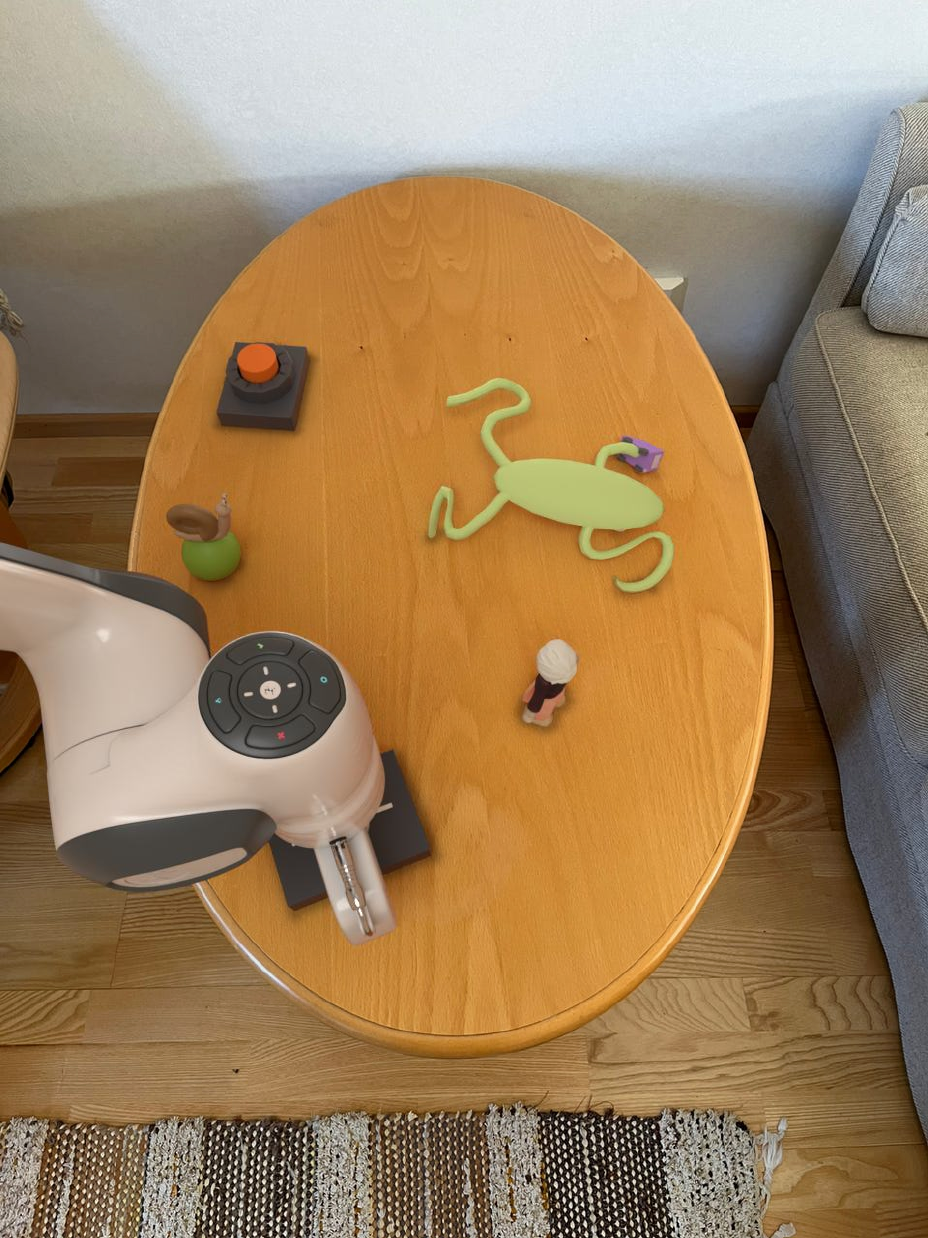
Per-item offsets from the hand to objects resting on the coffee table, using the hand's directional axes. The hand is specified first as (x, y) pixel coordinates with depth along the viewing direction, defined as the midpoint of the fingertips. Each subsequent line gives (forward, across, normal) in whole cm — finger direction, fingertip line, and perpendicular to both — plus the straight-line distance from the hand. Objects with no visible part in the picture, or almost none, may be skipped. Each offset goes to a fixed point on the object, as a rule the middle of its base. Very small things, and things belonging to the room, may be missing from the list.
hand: (342, 823), depth 68 cm
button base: (+4, +49, -6) cm, 50 cm away
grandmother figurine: (+4, +4, -20) cm, 21 cm away
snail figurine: (+4, +29, +3) cm, 30 cm away
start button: (0, +49, -6) cm, 50 cm away
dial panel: (+4, 0, 0) cm, 4 cm away
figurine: (+4, +25, -30) cm, 39 cm away
